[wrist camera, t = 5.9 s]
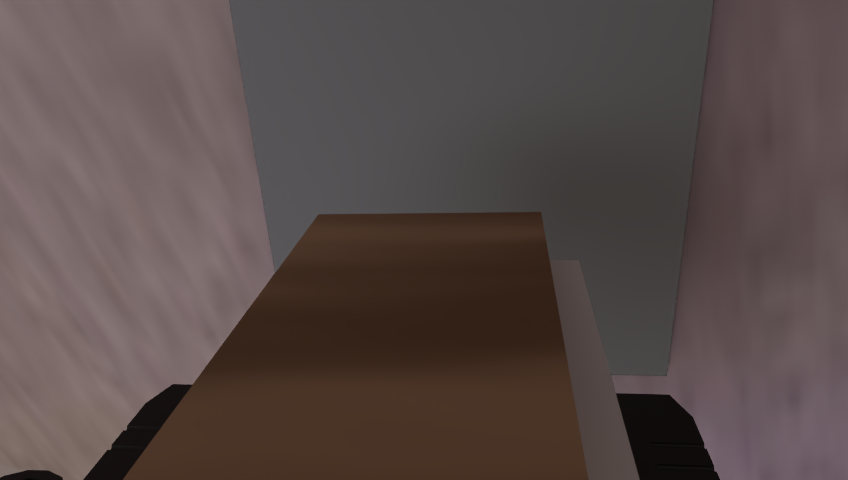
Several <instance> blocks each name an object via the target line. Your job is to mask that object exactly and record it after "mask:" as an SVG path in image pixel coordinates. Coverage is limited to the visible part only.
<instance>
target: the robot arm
mask: <svg viewBox="0 0 848 480" xmlns="http://www.w3.org/2000/svg"><path fill="white" fill-rule="evenodd" d="M550 265H551V271H552V277H553V282H554V288H555V294H556V299H557V305H558V310H559V316H560V322H561V327H562V333H563V339H564V344H565V350H566V356H567V361H568V367H569V373H570V378H571V384H572V390H573V395H574V401H575V407H576V412H577V418H578V424H579V429H580V435H581V441H582V446H583V452H584V458H585V463H586V469H587V475H588V480H720V479H719V476H718V474H717V472H715V471H714V465H713V463H712V460H711V458H710V456H709V453H708V451H707V449H705V448H704V442H703V440H702V437H701V435H700V433H699V430H698V428H697V426H696V424H695V421H694V419H693V417H692V416H691V415H690V414H689V413H688V412H687V411H686V410H685V409H684V408H683V407H681V406H680V405H679V404H678V403H677V402H676V401H675V400H674V399H673V398H672V397H671V396H670V395H659V394H619V393H616V392H615V389H614V385H613V381H612V378H611V374H610V371H609V367H608V363H607V360H606V356H605V353H604V349H603V345H602V342H601V338H600V335H599V331H598V327H597V324H596V320H595V317H594V313H593V309H592V306H591V302H590V299H589V295H588V291H587V288H586V284H585V280H584V277H583V273H582V270H581V266H580V262H579V260H550ZM191 386H192V385H180V384H173V385H171V386H170V387H168V388H167V389H165V390H164V391H163V392H161V393H160V394H158V395H157V396H155V397H154V398H153V399H151V400H150V401H148V402H147V403H146V404H145V405H144V406H143V407H142V408H141V410H140V411H139V412H138V413H137V415H136V416H135V417H134V418H133V419H132V421H131V422H130V423H129V424H128V426H127V430H126V431H123V432H122V433H121V434H120V435H119V437H118V438H117V439H116V440H115V442H114V443H113V444H112V448H111V450H107V451H106V453H105V454H104V455H103V456H102V457H101V459H100V460H99V461H98V462H97V464H96V465H95V466H94V467H93V469H92V470H91V471H90V472H89V473H88V475H87V476H86V477H85V478H84V480H123V479H124V477H125V476H126V475H127V473H128V472H129V471H130V469H131V468H132V467H133V465H134V464H135V462H136V461H137V460H138V458H139V457H140V456H141V454H142V453H143V452H144V450H145V449H146V448H147V446H148V445H149V443H150V442H151V441H152V439H153V438H154V437H155V435H156V434H157V433H158V431H159V430H160V429H161V427H162V426H163V424H164V423H165V422H166V420H167V419H168V418H169V416H170V415H171V414H172V412H173V411H174V410H175V408H176V407H177V405H178V404H179V403H180V401H181V400H182V399H183V397H184V396H185V395H186V393H187V392H188V391H189V389H190V388H191ZM0 480H63V478H62V477H61V476H59V475H56V474H54V473H52V472H50V471H44V470H27V471H23V472H19V473H15V474H10V475H6V476H3V477H1V478H0Z"/></svg>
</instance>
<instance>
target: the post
mask: <svg viewBox="0 0 848 480" xmlns="http://www.w3.org/2000/svg"><path fill="white" fill-rule="evenodd" d="M123 480H588V475H587V469H586V463H585V458H584V452H583V446H582V441H581V435H580V429H579V424H578V418H577V412H576V407H575V401H574V395H573V390H572V384H571V378H570V373H569V367H568V361H567V356H566V350H565V344H564V339H563V333H562V327H561V322H560V316H559V310H558V305H557V299H556V294H555V288H554V282H553V277H552V271H551V265H550V260H549V254H548V248H547V243H546V237H545V231H544V226H543V220H542V214H541V212H482V213H390V214H318V216H317V217H316V218H315V220H314V221H313V222H312V224H311V225H310V226H309V228H308V229H307V230H306V232H305V233H304V235H303V236H302V237H301V239H300V240H299V241H298V243H297V244H296V245H295V247H294V248H293V249H292V251H291V252H290V254H289V255H288V256H287V258H286V259H285V260H284V262H283V263H282V264H281V266H280V267H279V268H278V270H277V271H276V273H275V274H274V275H273V277H272V278H271V279H270V281H269V282H268V283H267V285H266V286H265V287H264V289H263V290H262V292H261V293H260V294H259V296H258V297H257V298H256V300H255V301H254V302H253V304H252V305H251V306H250V308H249V309H248V311H247V312H246V313H245V315H244V316H243V317H242V319H241V320H240V321H239V323H238V324H237V325H236V327H235V328H234V330H233V331H232V332H231V334H230V335H229V336H228V338H227V339H226V340H225V342H224V343H223V344H222V346H221V347H220V348H219V350H218V351H217V353H216V354H215V355H214V357H213V358H212V359H211V361H210V362H209V363H208V365H207V366H206V367H205V369H204V370H203V372H202V373H201V374H200V376H199V377H198V378H197V380H196V381H195V382H194V384H193V385H192V386H191V388H190V389H189V391H188V392H187V393H186V395H185V396H184V397H183V399H182V400H181V401H180V403H179V404H178V405H177V407H176V408H175V410H174V411H173V412H172V414H171V415H170V416H169V418H168V419H167V420H166V422H165V423H164V424H163V426H162V427H161V429H160V430H159V431H158V433H157V434H156V435H155V437H154V438H153V439H152V441H151V442H150V443H149V445H148V446H147V448H146V449H145V450H144V452H143V453H142V454H141V456H140V457H139V458H138V460H137V461H136V462H135V464H134V465H133V467H132V468H131V469H130V471H129V472H128V473H127V475H126V476H125V477H124V479H123Z"/></svg>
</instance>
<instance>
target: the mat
mask: <svg viewBox="0 0 848 480" xmlns="http://www.w3.org/2000/svg"><path fill="white" fill-rule="evenodd" d="M713 1H714V0H229V4H230V10H231V15H232V21H233V27H234V33H235V39H236V45H237V51H238V57H239V63H240V69H241V75H242V80H243V86H244V92H245V98H246V104H247V110H248V116H249V122H250V128H251V134H252V139H253V145H254V151H255V157H256V163H257V169H258V175H259V181H260V187H261V193H262V198H263V204H264V210H265V216H266V222H267V228H268V234H269V240H270V246H271V252H272V258H273V263H274V269H275V273H276V271H277V270H278V268H279V267H280V266H281V264H282V263H283V262H284V260H285V259H286V258H287V256H288V255H289V254H290V252H291V251H292V249H293V248H294V247H295V245H296V244H297V243H298V241H299V240H300V239H301V237H302V236H303V235H304V233H305V232H306V230H307V229H308V228H309V226H310V225H311V224H312V222H313V221H314V220H315V218H316V217H317V216H318V214H390V213H482V212H541V214H542V220H543V226H544V231H545V237H546V243H547V248H548V254H549V260H579V262H580V266H581V270H582V273H583V277H584V280H585V284H586V288H587V291H588V295H589V299H590V302H591V306H592V309H593V313H594V317H595V320H596V324H597V327H598V331H599V335H600V338H601V342H602V345H603V349H604V353H605V356H606V360H607V363H608V367H609V371H610V374H611V375H646V376H667V371H668V363H669V355H670V347H671V339H672V331H673V323H674V315H675V307H676V299H677V291H678V282H679V274H680V266H681V258H682V250H683V242H684V234H685V226H686V218H687V210H688V202H689V194H690V186H691V178H692V170H693V162H694V154H695V146H696V138H697V130H698V122H699V114H700V106H701V98H702V89H703V81H704V73H705V65H706V57H707V49H708V41H709V33H710V25H711V17H712V9H713Z"/></svg>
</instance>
